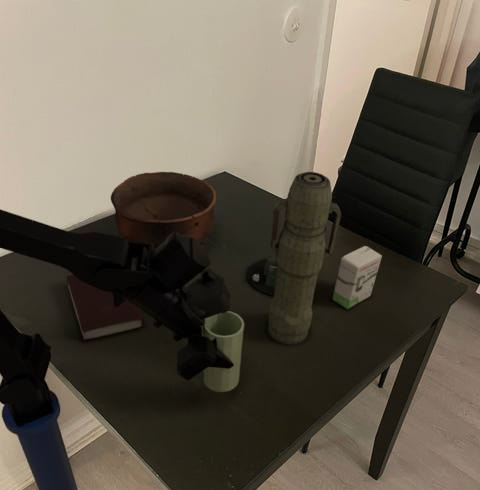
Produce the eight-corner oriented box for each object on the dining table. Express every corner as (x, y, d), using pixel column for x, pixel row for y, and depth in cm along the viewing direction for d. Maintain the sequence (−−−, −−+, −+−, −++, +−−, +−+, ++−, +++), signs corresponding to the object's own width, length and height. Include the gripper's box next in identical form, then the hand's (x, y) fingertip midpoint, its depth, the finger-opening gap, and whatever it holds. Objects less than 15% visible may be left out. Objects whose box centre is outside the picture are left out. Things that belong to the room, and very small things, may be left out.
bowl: (202, 283, 119) (202, 227, 109) (102, 267, 121) (93, 211, 111) (223, 229, 138) (225, 177, 128) (136, 216, 140) (131, 165, 130)
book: (122, 276, 119) (120, 265, 117) (144, 328, 106) (143, 316, 104) (67, 287, 115) (65, 275, 113) (83, 342, 102) (81, 330, 100)
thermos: (258, 316, 111) (275, 165, 88) (311, 317, 112) (341, 167, 89) (261, 344, 104) (280, 189, 81) (318, 345, 105) (352, 191, 82)
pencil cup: (216, 397, 86) (218, 342, 77) (195, 374, 89) (196, 319, 81) (246, 382, 89) (252, 327, 80) (225, 360, 92) (228, 305, 84)
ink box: (347, 310, 114) (358, 267, 107) (331, 299, 117) (340, 256, 109) (371, 296, 119) (383, 254, 111) (355, 286, 122) (365, 244, 114)
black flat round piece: (249, 257, 128) (251, 238, 125) (308, 262, 128) (311, 244, 124) (245, 293, 117) (246, 274, 113) (309, 299, 116) (313, 280, 113)
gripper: (200, 312, 66) (274, 369, 75) (199, 236, 80) (261, 291, 89) (143, 354, 71) (219, 403, 79) (151, 275, 85) (215, 324, 93)
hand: (230, 351), depth 85 cm, fingers closed on pencil cup, 6 cm apart
